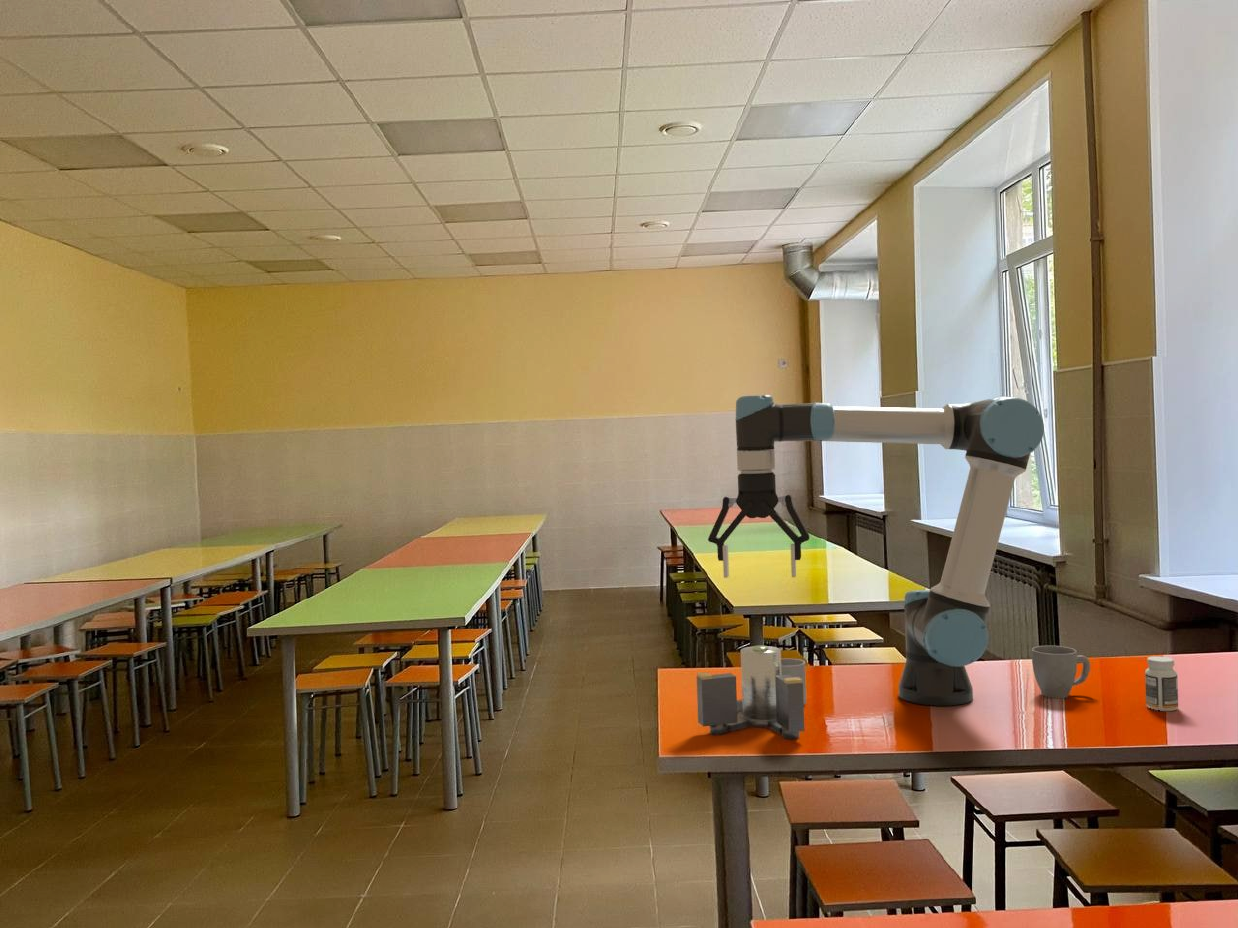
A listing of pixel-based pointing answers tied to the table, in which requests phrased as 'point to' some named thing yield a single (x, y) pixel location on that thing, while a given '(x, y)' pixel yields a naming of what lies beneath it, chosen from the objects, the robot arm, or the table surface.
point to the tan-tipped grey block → (716, 701)
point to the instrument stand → (758, 689)
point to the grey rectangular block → (789, 705)
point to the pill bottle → (1161, 684)
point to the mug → (1058, 669)
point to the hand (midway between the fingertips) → (759, 576)
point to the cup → (795, 671)
